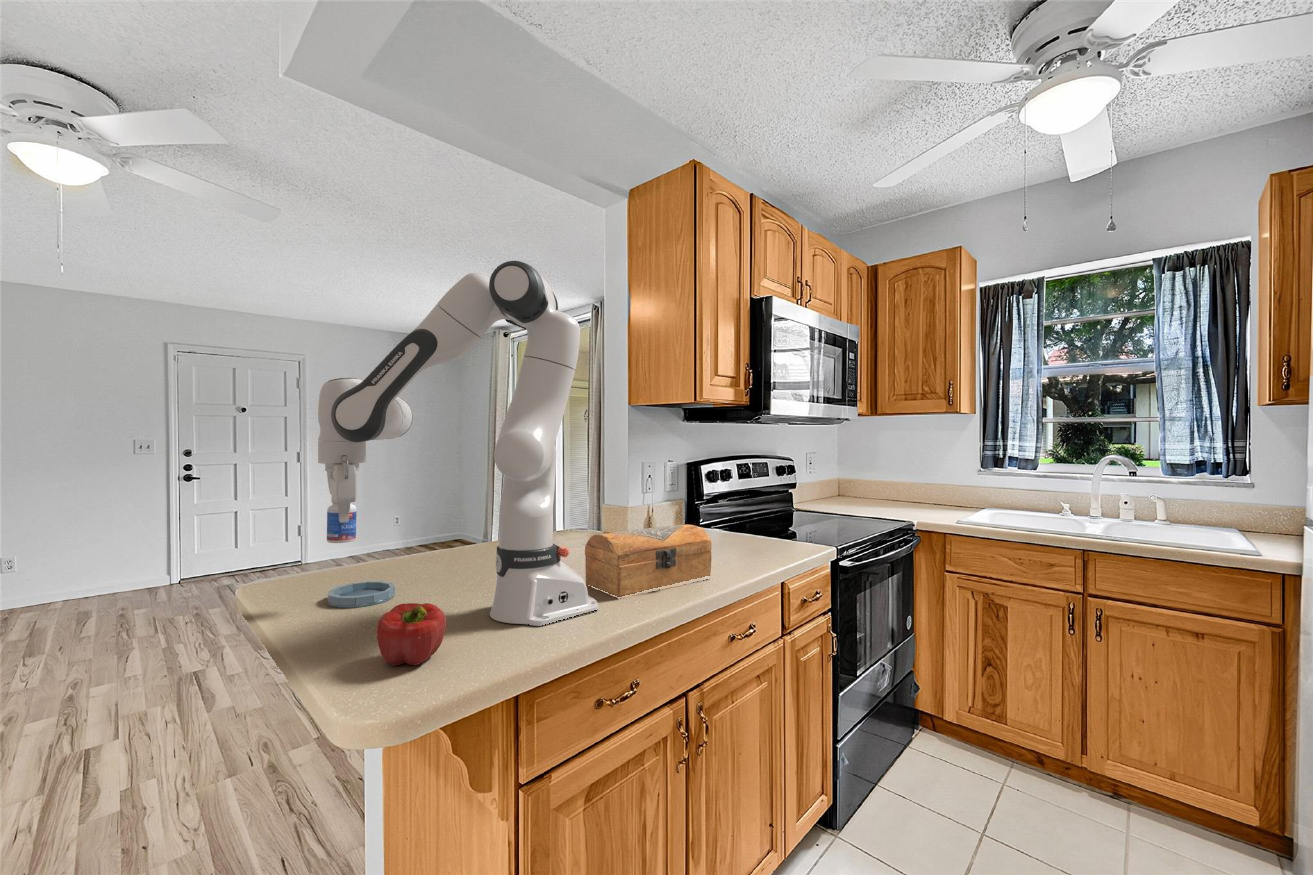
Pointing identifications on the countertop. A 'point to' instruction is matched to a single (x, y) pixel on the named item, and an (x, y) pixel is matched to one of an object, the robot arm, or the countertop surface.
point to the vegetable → (410, 633)
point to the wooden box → (647, 558)
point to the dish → (361, 594)
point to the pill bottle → (340, 524)
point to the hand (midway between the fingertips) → (342, 519)
